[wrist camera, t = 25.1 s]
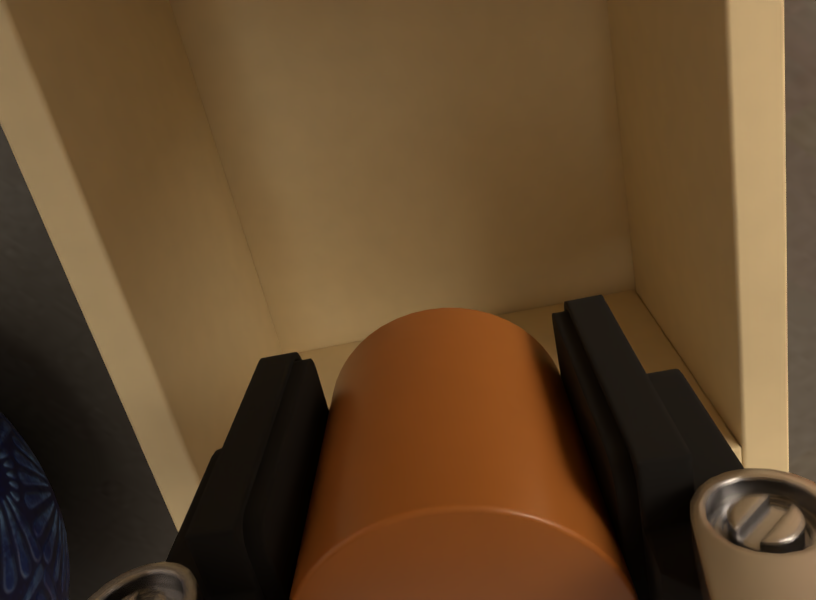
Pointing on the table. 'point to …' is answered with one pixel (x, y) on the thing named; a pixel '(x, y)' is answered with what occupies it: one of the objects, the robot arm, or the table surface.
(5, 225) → the table surface
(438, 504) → the orange cylinder
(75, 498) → the table surface
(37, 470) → the planter
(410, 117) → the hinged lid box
